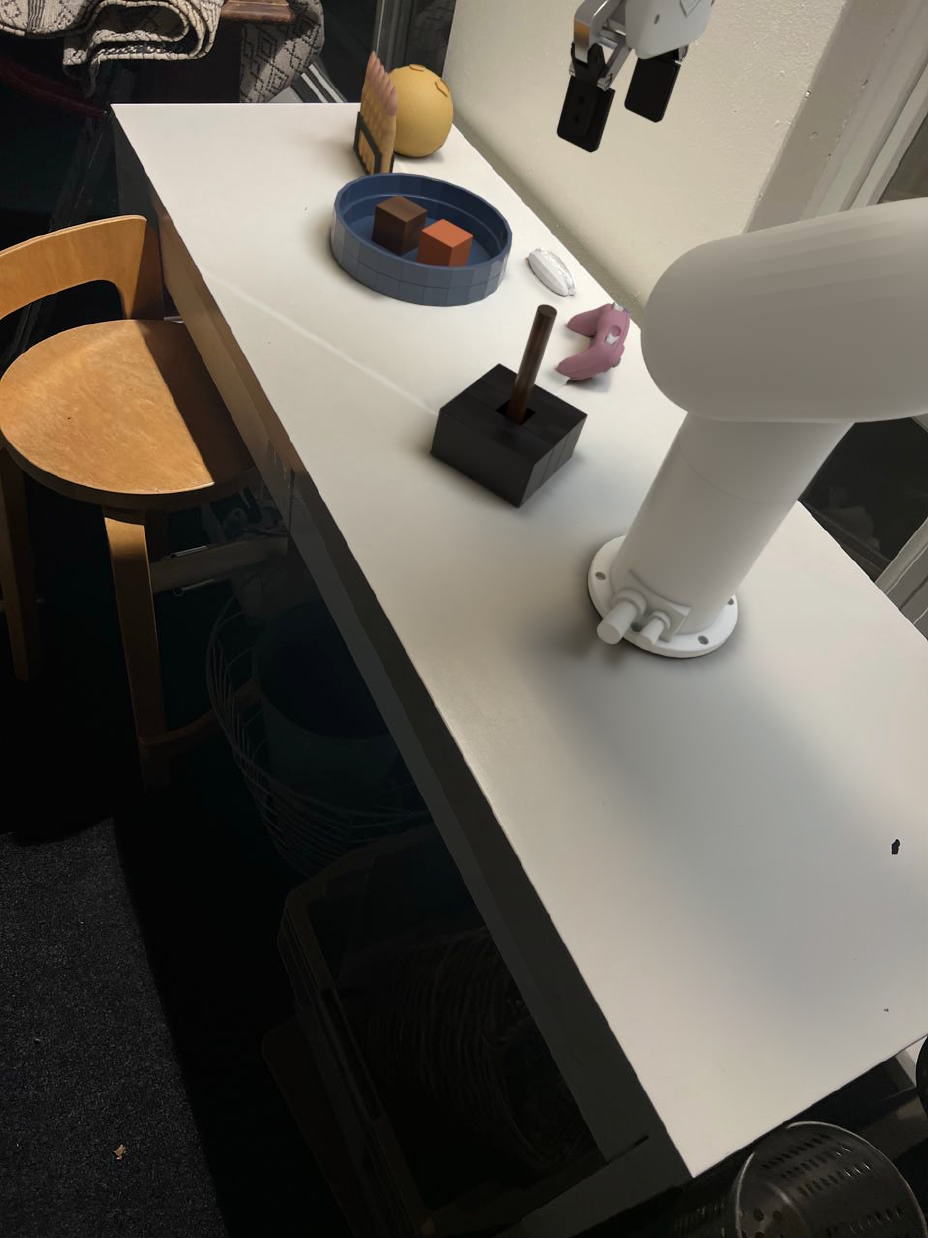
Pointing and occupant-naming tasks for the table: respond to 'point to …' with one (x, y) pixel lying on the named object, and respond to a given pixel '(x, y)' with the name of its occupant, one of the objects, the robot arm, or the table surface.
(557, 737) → the table surface
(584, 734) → the table surface
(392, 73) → the stress ball
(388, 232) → the walnut block
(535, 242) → the table surface
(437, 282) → the bowl
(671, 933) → the table surface
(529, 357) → the stirring stick
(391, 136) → the ammunition clip
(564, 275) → the white ridged capsule
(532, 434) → the stick stand
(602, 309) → the video game controller
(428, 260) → the terracotta block
